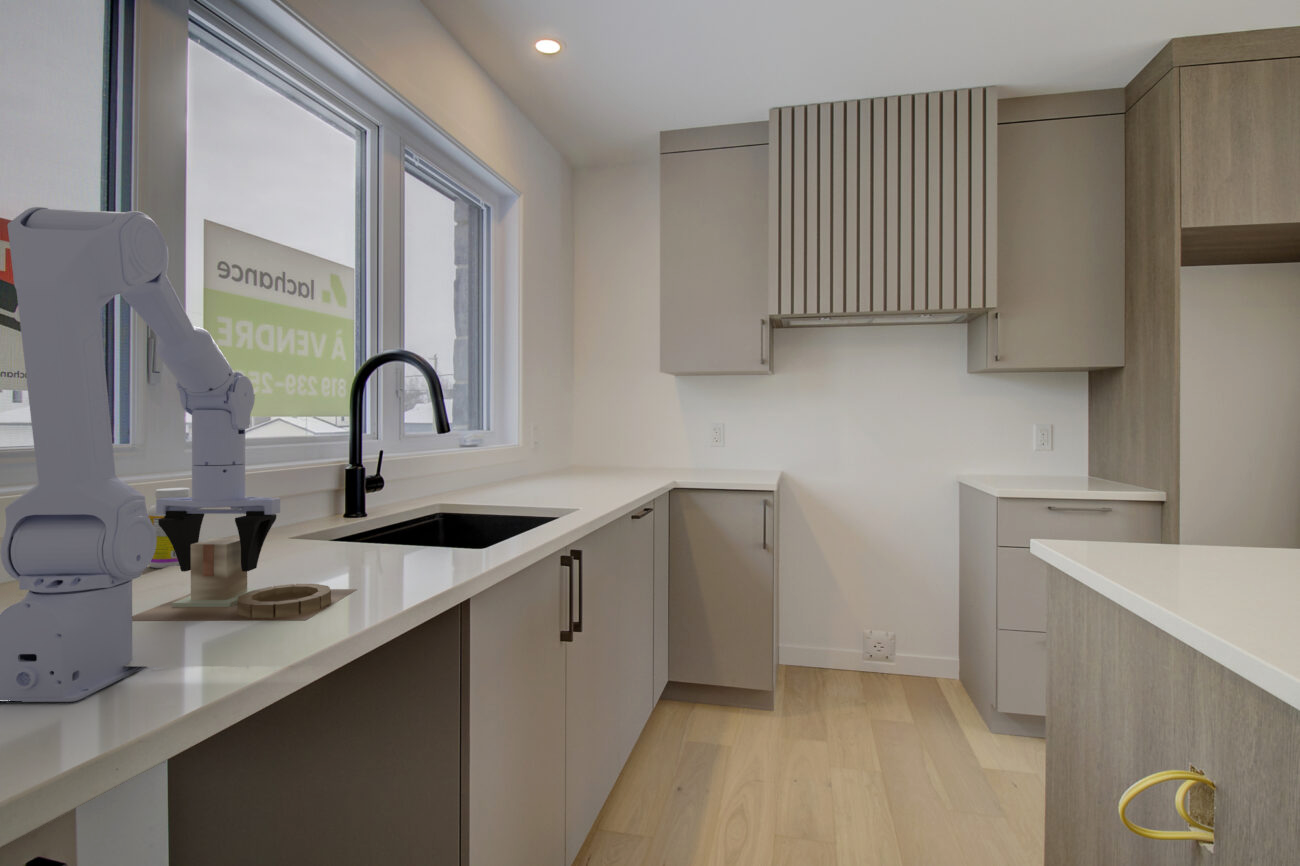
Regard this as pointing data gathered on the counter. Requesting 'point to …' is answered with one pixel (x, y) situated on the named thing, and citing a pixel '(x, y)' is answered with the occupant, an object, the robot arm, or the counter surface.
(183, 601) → the sage pad
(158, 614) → the base board
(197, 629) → the counter surface
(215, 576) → the peg
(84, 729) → the counter surface
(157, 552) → the supplement bottle
